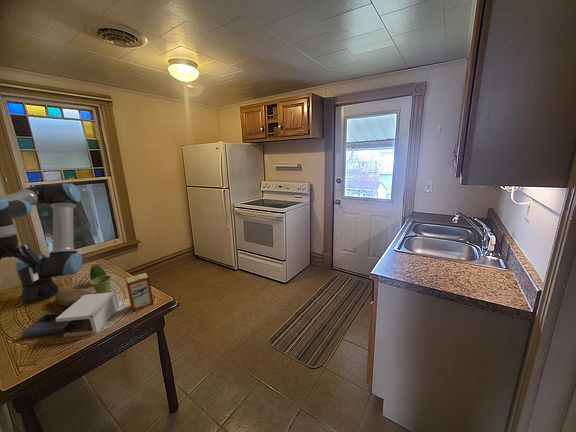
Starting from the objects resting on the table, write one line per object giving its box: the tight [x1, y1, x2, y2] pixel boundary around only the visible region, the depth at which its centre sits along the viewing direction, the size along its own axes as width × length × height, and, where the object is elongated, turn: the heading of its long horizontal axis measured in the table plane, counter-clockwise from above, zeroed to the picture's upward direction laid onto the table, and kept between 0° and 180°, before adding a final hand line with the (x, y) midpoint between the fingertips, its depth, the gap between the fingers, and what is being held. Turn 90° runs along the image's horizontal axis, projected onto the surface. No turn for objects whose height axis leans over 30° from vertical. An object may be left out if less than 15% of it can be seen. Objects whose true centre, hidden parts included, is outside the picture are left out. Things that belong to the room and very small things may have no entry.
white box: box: [56, 291, 120, 338], centre depth 113 cm, size 14×19×9 cm
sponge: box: [54, 288, 92, 307], centre depth 129 cm, size 13×8×20 cm
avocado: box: [89, 264, 107, 281], centre depth 149 cm, size 8×8×12 cm
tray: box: [22, 312, 80, 339], centre depth 111 cm, size 16×12×3 cm
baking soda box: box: [125, 272, 155, 312], centre depth 125 cm, size 10×6×16 cm
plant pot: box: [90, 275, 112, 294], centre depth 137 cm, size 9×9×9 cm
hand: (16, 282), depth 105 cm, fingers open, 13 cm apart
